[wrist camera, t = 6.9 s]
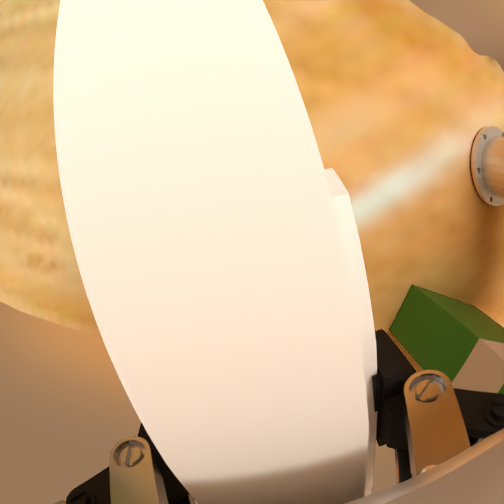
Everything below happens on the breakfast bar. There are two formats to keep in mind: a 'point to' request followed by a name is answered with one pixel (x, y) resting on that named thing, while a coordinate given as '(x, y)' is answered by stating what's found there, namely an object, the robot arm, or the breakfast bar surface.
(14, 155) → the breakfast bar surface
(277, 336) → the cream elongated piece
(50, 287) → the breakfast bar surface
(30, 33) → the breakfast bar surface
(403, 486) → the robot arm
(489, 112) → the breakfast bar surface
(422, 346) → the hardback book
